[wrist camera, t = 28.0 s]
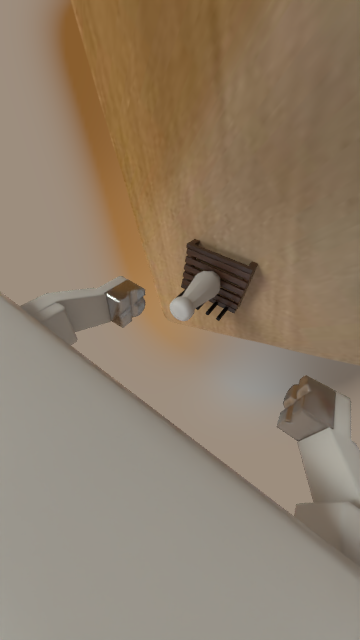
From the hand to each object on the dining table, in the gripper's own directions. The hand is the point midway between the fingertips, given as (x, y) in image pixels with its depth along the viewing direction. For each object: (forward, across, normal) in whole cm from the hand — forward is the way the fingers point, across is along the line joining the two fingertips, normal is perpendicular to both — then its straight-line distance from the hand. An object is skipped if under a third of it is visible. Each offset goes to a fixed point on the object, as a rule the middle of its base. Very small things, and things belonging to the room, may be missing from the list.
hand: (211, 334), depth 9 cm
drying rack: (+31, +10, +16) cm, 36 cm away
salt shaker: (+28, +10, +16) cm, 34 cm away
